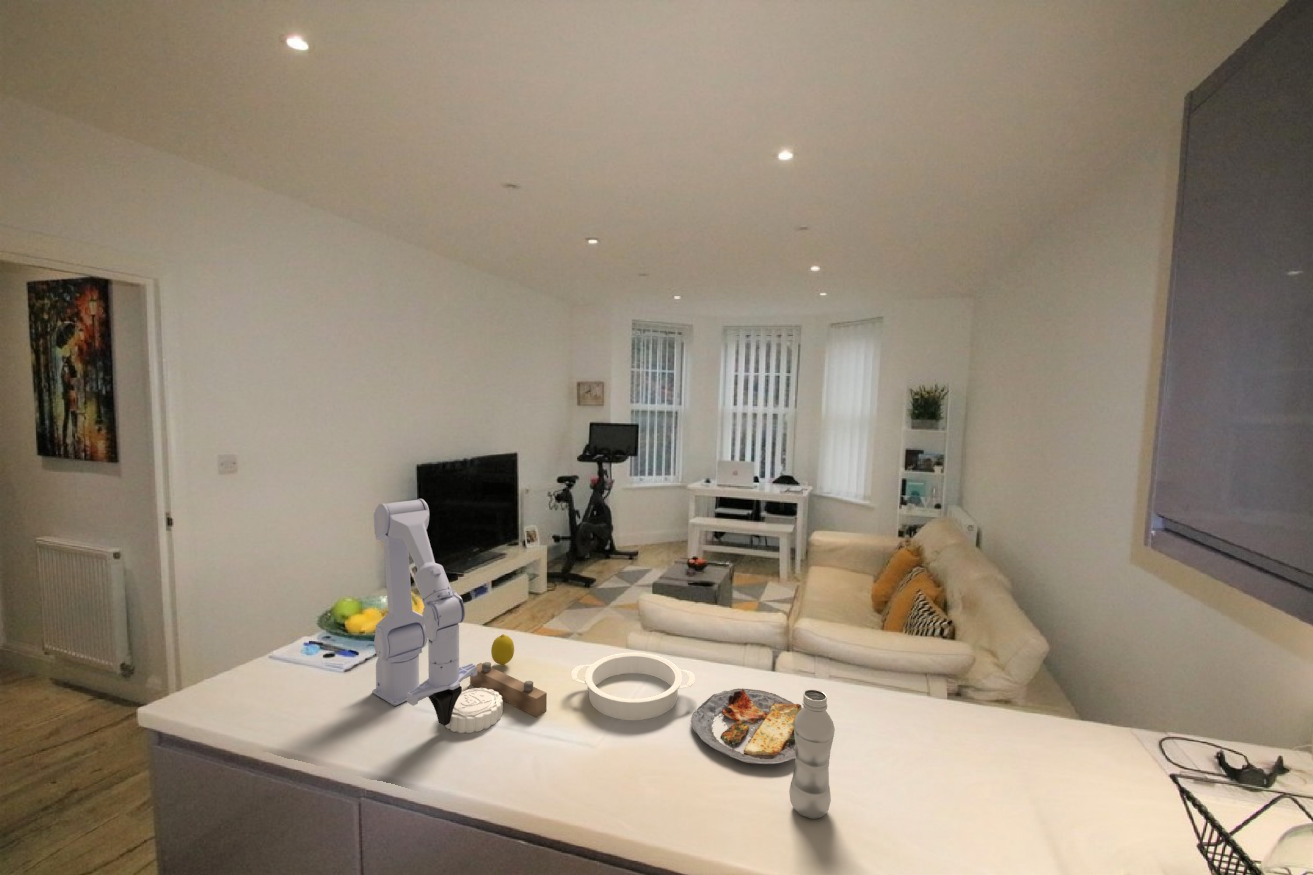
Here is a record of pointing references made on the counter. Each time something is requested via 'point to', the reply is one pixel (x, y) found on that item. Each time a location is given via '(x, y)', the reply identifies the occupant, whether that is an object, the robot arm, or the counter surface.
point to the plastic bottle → (812, 756)
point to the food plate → (750, 724)
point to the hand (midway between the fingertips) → (444, 722)
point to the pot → (633, 664)
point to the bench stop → (511, 689)
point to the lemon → (502, 649)
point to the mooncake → (476, 710)
